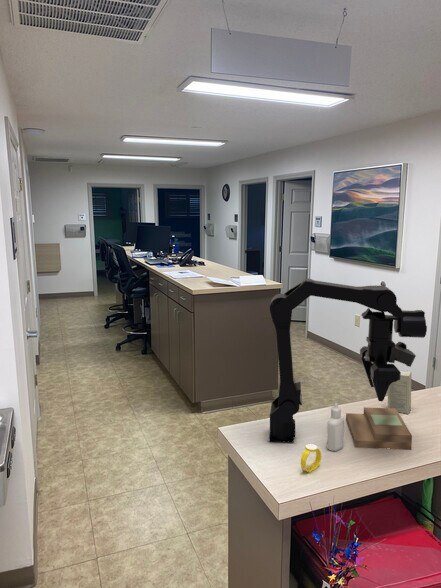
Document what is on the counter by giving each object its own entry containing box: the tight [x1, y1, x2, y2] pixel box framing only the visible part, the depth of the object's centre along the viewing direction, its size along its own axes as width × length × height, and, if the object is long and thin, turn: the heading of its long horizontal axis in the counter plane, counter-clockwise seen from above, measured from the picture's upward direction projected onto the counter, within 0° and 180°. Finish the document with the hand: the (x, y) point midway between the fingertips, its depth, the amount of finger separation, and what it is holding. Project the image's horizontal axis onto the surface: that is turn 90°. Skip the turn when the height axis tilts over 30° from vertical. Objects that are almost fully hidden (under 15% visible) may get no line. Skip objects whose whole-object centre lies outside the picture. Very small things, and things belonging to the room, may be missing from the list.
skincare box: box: [387, 369, 412, 415], centre depth 133 cm, size 6×4×12 cm
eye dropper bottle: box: [326, 402, 345, 452], centre depth 113 cm, size 4×6×12 cm
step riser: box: [345, 406, 413, 451], centre depth 120 cm, size 14×16×4 cm
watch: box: [300, 443, 322, 473], centre depth 104 cm, size 6×3×6 cm, turn 128°
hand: (376, 393), depth 113 cm, fingers open, 9 cm apart
